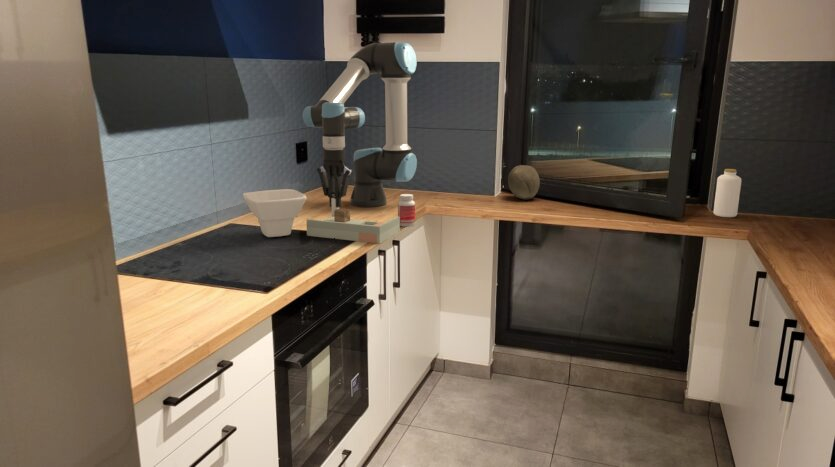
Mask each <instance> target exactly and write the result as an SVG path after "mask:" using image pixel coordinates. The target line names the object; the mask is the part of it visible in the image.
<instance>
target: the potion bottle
mask: <svg viewBox="0 0 835 467" xmlns="http://www.w3.org/2000/svg"><path fill="white" fill-rule="evenodd" d="M723 173H724V174H720V175H719V176H718V177H717V179H716V189H715V196H714V203H713V204H714V205H713V214H714V216H716V217H721V218H735V217H736V216H737V215H738V210H739V203H740V202H739V201H740V194H741V188H742V178H741V177H740V176H738V175H737V169H735V168H724V171H723Z"/></svg>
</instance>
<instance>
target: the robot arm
mask: <svg viewBox="0 0 835 467" xmlns="http://www.w3.org/2000/svg"><path fill="white" fill-rule="evenodd" d="M417 60H418V59H417V55H416V52H415V49H414V48H413V47H412V45H411V44H410V43H407V42H401V41H399V42H398V41H396V42H372V43H370V44H367V45H365V46H363V47H362V48H361V49H359V50H358V51H356V52H355V53H354V54H353V55H352V56H351V57H350V59H349V60H348V61H347V64H346V68H344V70H343V71H342V73H341V74H340V75H339V76H338V77H337V79H336V80H335V81H334V82H333V84H331V86H330V87H329V88H328V89H327V91H326V92H325V93H324V95H323V96H322V97H321V98H320V99H319V101H318V102H317V103H316V104H315V105H311V106H310V105H308V106H306V107H305V108H304V109H303V111H302V120H303V123H304V125H305V126H306V127H309V128H316V129H317V128H319V129H322V148H323V149H322V158H323V162H322V166H320V167H318V168H316V171H317V173H318V175H319V178H320V182H321V187H322V191H323V195H324V196H325V197H328V198H329V201H328V202H329V207H331V217H333V218H334V210H337V209H339V208H340V207H341V206H342V198H343V197H346V196H347V192H348V188H349V181H350V176H352V173H353V181H354V182H353V183H354V184H353V185H354V186H353V189H352V191H351V196H350V198H349V200H350V205H351V206H354V207H362V208H363V207H365V208H369V207H370V208H371V207H372V208H373V207H380V206H384V205H386V204H387V196H386V194H385V190H384V186H383V181H386V182H387V181H390V182H396V183H401V182H402V183H404V182H405V183H406V182H409V181H410V180H412V179H413V177H414V175H415V174H416V171H417V165H418V160H417V159H418V158H417V156H416V154H414V153H413V152H412V147H411V146H410V145H409V144H408V82H409V81H410V80H411V77H412V76H411V75H413V74H414V73H415V71H417V70H416V69H417V65H418V63H417V62H418V61H417ZM375 74H379V75H380V79H381V80H382V82H384V91H385V92H384V93H385V94H384V95H385V97H384V98H385V100H384V101H385V104H384V105H385V145H384V146H383V147H382V148H381V147H369V148H362V149H357V150H355V151H354V153H353V169H349V167H347V164H346V150H345V147H346V140H345V139H346V138H345V137H346V136H345V135H346V134H345V133H346V130H356V129H358V128H361V127H363V125H364V124H365V122H366V115H365V112H364V111H363V109H362V108H361V107H358V106H357V107H356V106H350V107H349V106H347V107H345V103H346V101H347V100H348V99H349V98H350V96H351V95H352V94H353V92H354V91H355V90H356V88H358V86H360V83H362V82H363V81H364V80H367V79H368V78H369V76H371V75H375Z"/></svg>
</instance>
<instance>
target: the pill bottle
mask: <svg viewBox="0 0 835 467" xmlns="http://www.w3.org/2000/svg"><path fill="white" fill-rule="evenodd" d="M399 199H400V200H399V201H398V202H397V217H400V227H406V228H407V227H408V228H409V227H414V226H415V225H416V202H415V201H414V194H411V193H402V194H400V195H399Z"/></svg>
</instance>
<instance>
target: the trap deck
mask: <svg viewBox="0 0 835 467" xmlns="http://www.w3.org/2000/svg"><path fill="white" fill-rule="evenodd" d="M400 228H401V226H400V217H398V216H395V217H393V218H391V219H388V221H385V222H384V221H374V220H373V221H372V220H361V219H351V218H350V221H348V222H345V223H343V222H335V221H334V217H332V216H330V217H328V218H325V219H312V218H307V219H306V236H308V237H318V238H327V239H334V238H335V239H336V240H345V241H355V242H360V243H361V242H364V243H372V244H382V243H383V242H385V241H387V240H388V239H390V238H392V237H394V236H396V235H397V234H399V233H400V232H401V231H400Z"/></svg>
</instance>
